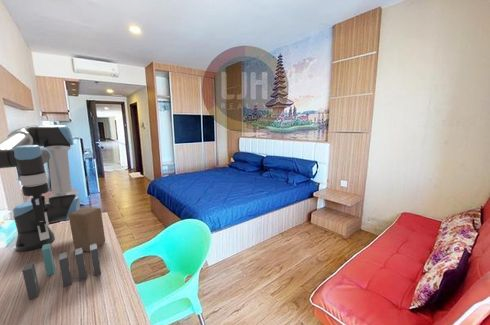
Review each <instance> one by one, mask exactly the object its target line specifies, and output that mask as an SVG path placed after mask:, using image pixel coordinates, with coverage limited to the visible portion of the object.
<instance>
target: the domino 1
mask: <svg viewBox="0 0 490 325" xmlns="http://www.w3.org/2000/svg"><path fill="white" fill-rule="evenodd" d="M22 275H23V279H24V283H25V284H24V285H25V288H26V293H27V296H28V297H27V298H28V301H30V300H33V299H36V298H38V297H39V293H40V285H39V280H38V274H37V272H36V265H35V262H34V261H31V262H28V263H25V264H24V266H23V268H22Z"/></svg>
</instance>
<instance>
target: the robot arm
mask: <svg viewBox="0 0 490 325" xmlns="http://www.w3.org/2000/svg"><path fill="white" fill-rule="evenodd" d="M73 145H74V138H73V135H72V131H71V130H70V128H69V126H67V125H63V124H60V125H59V124H54V125H53V124H51V125H28V126H24V127H21V128H18V129H16V130H13V131H11V132H10V133H9V134H8V135H7V138H5V139H3V140H2V141H0V169H8V168H17V170H18V175H19V177H18V178H17V181H20V184H21V186H22V187H21V189H22V190H21V191H22V194H23V196H25V197H31V199H30V200H29V201H25V202H21V203H19V204H17V205H16V206H15V207H14V208H13V210H12V212H13V218H14V222H15V225H16V226H15V227H16V230H17V238H16V241H15V248H16V251H18V252H27V251H34V250H37V249H40V248H42V246H43V245H45V244H49V243H50V244H51V243H52V242H54V240H55V234H54V232H53V231H52V230H51V228H50V223H55V222H59V221H66V220H69V214H70V213H72V212H75V211H77V210H80V209H81V205H80V204H81V203H80V202H81V201H80V200H81V199H80V196H76V193H75V192H73V190H72V182H71V181H72V180H71V172H70V171H71V170H70V162H69V150H70V149H71V146H73ZM46 163H48V166H49V176H50V177H49V178H50V187H51V188H50V187H49V184H48V178H47V172H46V169H45V164H46ZM50 189H51V194H50V195H49V197H48V201H46V198H45V195H44V194H46V193H48V192H49V191H50Z"/></svg>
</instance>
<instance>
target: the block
mask: <svg viewBox="0 0 490 325" xmlns="http://www.w3.org/2000/svg"><path fill="white" fill-rule="evenodd" d="M68 220H69V225H70V231H71V236H72V242H73V247H74V250H75V249H78V248H82V250H83V252H90V245H92V244H96V245H97V248H98V247H99V246H102V245H103V244H105V242H106V236H105V231H104V230H105V229H104V223H103V216H102V209H101V208H100V207H92V206H84V207H82V208H79V210H77V211H75V212H72V213H70V214H69V219H68ZM90 253H91V252H90Z"/></svg>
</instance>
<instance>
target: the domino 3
mask: <svg viewBox="0 0 490 325" xmlns="http://www.w3.org/2000/svg"><path fill="white" fill-rule="evenodd" d="M58 262H59V267H60V273H61V278H62V283H63V288H66V287H68V286H71V285H73V284H72V283H73V281H72V280H73V277H72V271H71V265H70V259H69V253H68V252H67V251H66V252H65V251H64V252H62V253H59V254H58Z"/></svg>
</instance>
